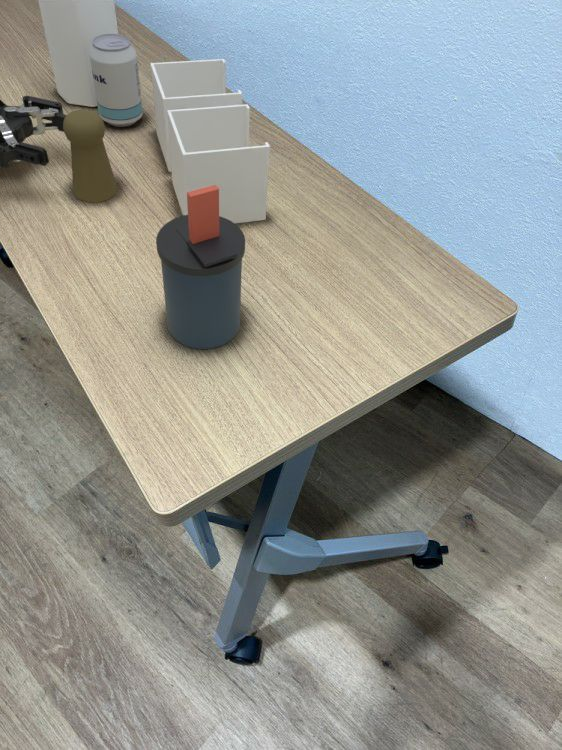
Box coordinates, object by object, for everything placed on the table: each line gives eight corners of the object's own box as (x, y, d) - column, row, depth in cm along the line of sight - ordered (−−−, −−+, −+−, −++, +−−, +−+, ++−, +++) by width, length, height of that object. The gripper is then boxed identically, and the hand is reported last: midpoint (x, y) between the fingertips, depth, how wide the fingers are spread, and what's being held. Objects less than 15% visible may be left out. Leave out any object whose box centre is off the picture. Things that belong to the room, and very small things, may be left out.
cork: (71, 180, 88) (55, 105, 80) (114, 175, 90) (103, 101, 81) (75, 204, 84) (59, 128, 76) (120, 199, 86) (108, 124, 78)
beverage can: (93, 114, 100) (80, 36, 91) (132, 105, 103) (124, 28, 94) (109, 134, 97) (98, 54, 88) (150, 124, 99) (143, 46, 90)
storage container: (156, 134, 98) (150, 63, 89) (224, 128, 100) (224, 59, 92) (187, 229, 83) (182, 154, 74) (265, 219, 85) (270, 146, 77)
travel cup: (152, 311, 72) (141, 226, 63) (220, 287, 76) (220, 204, 67) (185, 362, 68) (179, 278, 58) (256, 334, 71) (261, 252, 62)
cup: (93, 115, 100) (72, -13, 86) (43, 94, 103) (14, -33, 89) (138, 90, 107) (125, -33, 92) (90, 71, 110) (70, -50, 96)
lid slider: (186, 244, 61) (183, 192, 57) (218, 234, 63) (218, 183, 58) (204, 267, 59) (202, 216, 55) (237, 257, 61) (238, 206, 56)
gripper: (-85, 111, 78) (26, 141, 75) (-14, 67, 87) (88, 92, 84) (-64, 164, 84) (40, 194, 81) (1, 118, 93) (96, 143, 90)
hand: (64, 142), depth 83 cm, fingers open, 8 cm apart
